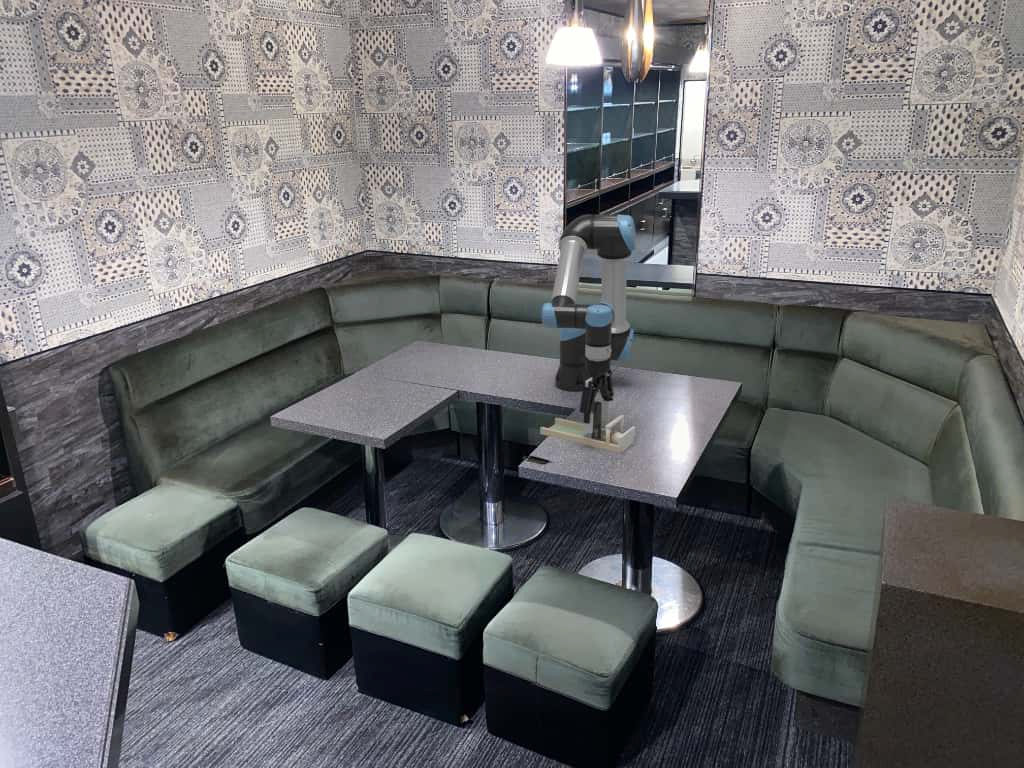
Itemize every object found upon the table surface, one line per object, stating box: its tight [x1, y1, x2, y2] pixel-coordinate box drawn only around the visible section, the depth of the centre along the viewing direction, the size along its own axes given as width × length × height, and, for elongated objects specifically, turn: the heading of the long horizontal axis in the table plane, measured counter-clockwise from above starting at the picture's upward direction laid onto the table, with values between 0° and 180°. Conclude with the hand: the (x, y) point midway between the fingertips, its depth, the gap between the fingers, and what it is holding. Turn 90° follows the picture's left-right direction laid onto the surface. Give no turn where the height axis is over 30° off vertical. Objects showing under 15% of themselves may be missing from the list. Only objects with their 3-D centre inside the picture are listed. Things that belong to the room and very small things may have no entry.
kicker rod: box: [583, 400, 616, 443], centre depth 239 cm, size 8×7×12 cm
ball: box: [611, 431, 622, 445], centre depth 237 cm, size 4×4×4 cm
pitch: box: [539, 414, 636, 454], centre depth 242 cm, size 28×10×9 cm, turn 56°
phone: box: [522, 453, 551, 465], centre depth 236 cm, size 8×1×15 cm
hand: (596, 426), depth 240 cm, fingers open, 10 cm apart
